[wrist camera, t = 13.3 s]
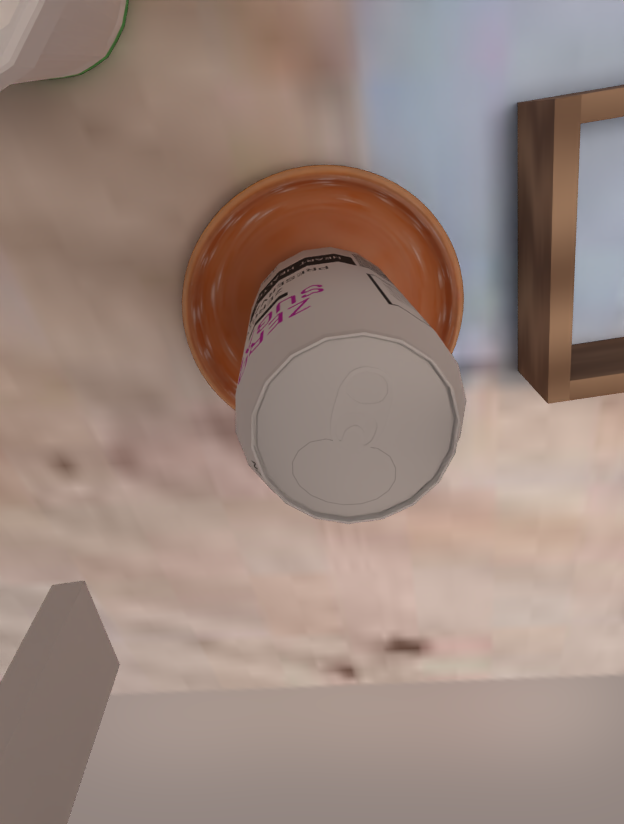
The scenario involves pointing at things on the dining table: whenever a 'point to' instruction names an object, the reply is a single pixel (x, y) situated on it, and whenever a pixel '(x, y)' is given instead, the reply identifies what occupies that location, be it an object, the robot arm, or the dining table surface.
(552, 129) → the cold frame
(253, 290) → the saucer
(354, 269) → the supplement can
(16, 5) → the cup
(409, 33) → the dining table surface
